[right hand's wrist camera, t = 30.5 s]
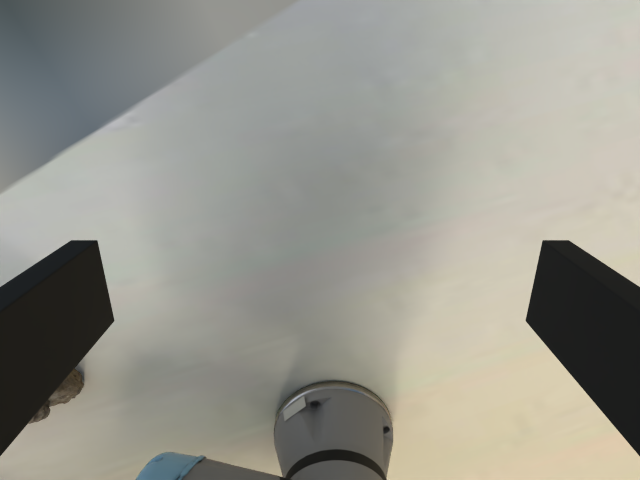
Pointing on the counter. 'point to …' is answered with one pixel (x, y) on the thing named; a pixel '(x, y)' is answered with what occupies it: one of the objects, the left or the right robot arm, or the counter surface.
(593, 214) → the counter surface
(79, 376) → the fossil
